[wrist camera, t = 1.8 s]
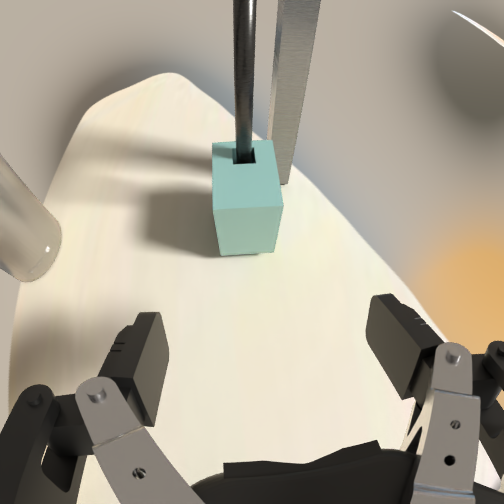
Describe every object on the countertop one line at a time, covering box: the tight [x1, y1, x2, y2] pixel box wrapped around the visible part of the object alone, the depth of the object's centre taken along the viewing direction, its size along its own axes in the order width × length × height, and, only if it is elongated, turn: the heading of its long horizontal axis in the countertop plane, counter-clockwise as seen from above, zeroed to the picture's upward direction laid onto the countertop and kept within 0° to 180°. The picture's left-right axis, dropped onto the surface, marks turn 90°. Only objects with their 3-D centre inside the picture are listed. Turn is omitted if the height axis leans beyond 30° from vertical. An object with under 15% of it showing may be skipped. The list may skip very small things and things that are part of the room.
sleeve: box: [212, 140, 284, 256], centre depth 26 cm, size 7×5×8 cm
